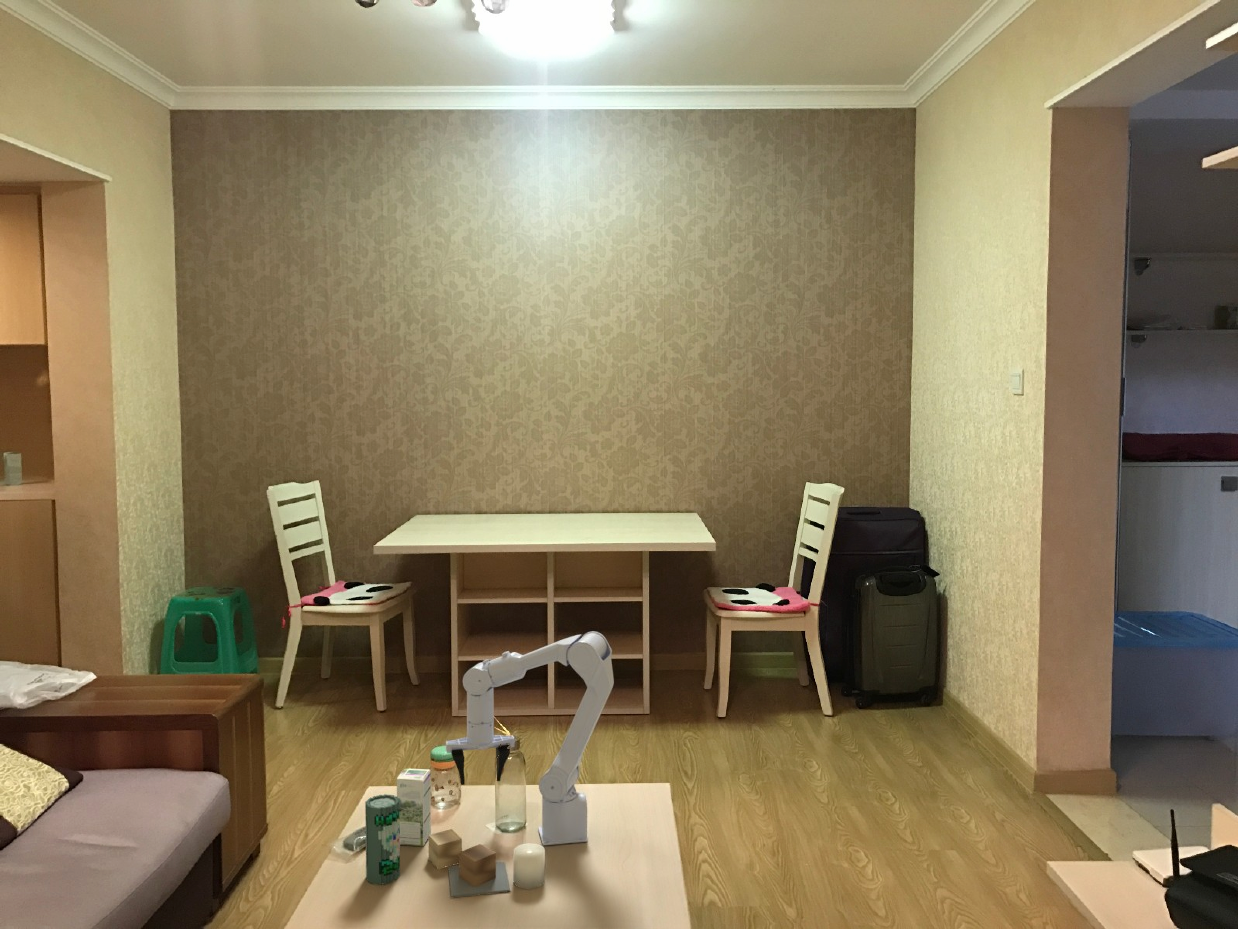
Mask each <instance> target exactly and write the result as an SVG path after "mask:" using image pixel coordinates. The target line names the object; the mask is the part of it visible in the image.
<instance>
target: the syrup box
mask: <svg viewBox="0 0 1238 929" xmlns="http://www.w3.org/2000/svg"><path fill="white" fill-rule="evenodd" d="M431 775H432V774H431V769H427V768H426V769H423V768H422V769H421V768H404V769H403V770H402V771H401V772H400V774H398V776H397V778H396V797H397V798H398V799H399V810H400V846H409V847H411V846H412V847H424V845H425V844H426V843H427V841H428V840H429V835H431V834H432V823H431V822H432V821H431V819H432V818H431V813H432V812H431V809H432V808H431V805H432V803H431V796H432V794H431V792H432V791H431V787H432V786H431V784H432V783H431V781H432V780H431V777H432V776H431ZM427 839H428V840H427ZM425 842H426V843H425Z"/></svg>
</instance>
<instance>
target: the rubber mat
mask: <svg viewBox="0 0 1238 929" xmlns="http://www.w3.org/2000/svg"><path fill="white" fill-rule="evenodd" d="M507 872H508V871H507V868H506V862H505V861H496V878H494V879H492V880H490V881H488V882H485V883H483V884H481V885H479V886H476V887H474V886H472V885H470V884H469V883H467V882H466V881H464V880H462V879H461V878H459V865H452V866H448V878H449V889H450V898H451V899H453V898H452V897H454V898H461V897H463V898H464V897H472V896H473V895H474V896H479V895H478V894H484V895H488V894H487V893H494V894H499V892H503V893H507V892H506V891H509V892H508V893H510V892H511V885H510V881H509V878H508V873H507Z"/></svg>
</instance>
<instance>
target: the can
mask: <svg viewBox="0 0 1238 929" xmlns="http://www.w3.org/2000/svg"><path fill="white" fill-rule="evenodd" d="M364 806H365V812H364V813H365V870H366V871H365V880H366V881H367V882H368V883H370V884H373V885H379V886H381V885H387V884H390V883H393V882H394V881H395V882H396V881H397V880H398V879H399V877H400V876H401V872H400V871H401V854H400V853H401V845H400V810H399V799H398V798H397V795H393V794H386V793H385V794H378V795H373V796H372V797H369V798H368V799H367V800H366V801H365V805H364Z"/></svg>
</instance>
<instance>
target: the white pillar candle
mask: <svg viewBox="0 0 1238 929" xmlns="http://www.w3.org/2000/svg"><path fill="white" fill-rule="evenodd" d="M545 859H546V849H545V847H544V845H541V844H538V843H530V842H527V843H522V844H519V845H517V846H515V848H513V866H512V867H513V881H514V882H513V884H514V883H515V884H516V885H517V886H516V885H515V884H514V885H515V886H516V887H518V886H519V887H518V888H520V887H522V888H521V889H525V888H528V889H529V890H530V889H537V888H539V887H541V886H543V884H544V883H545V880H546V877H545V876H546V874H545V870H546V864H545V863H546V860H545ZM538 886H539V887H538ZM528 889H527V890H528Z"/></svg>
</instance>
